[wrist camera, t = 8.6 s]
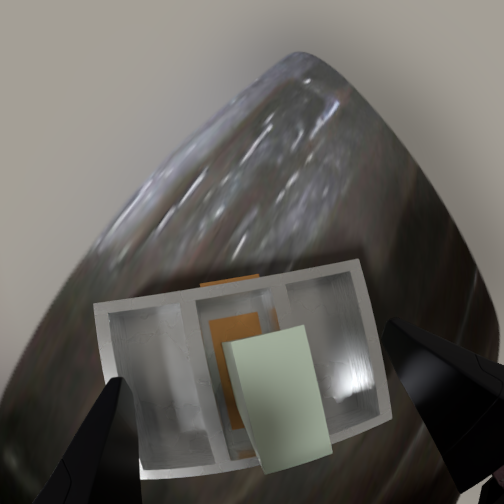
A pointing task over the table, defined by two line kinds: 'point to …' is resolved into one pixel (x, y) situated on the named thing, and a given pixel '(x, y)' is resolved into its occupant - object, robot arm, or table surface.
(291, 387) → the pale green rectangular block
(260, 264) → the table surface
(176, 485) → the table surface
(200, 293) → the rack
